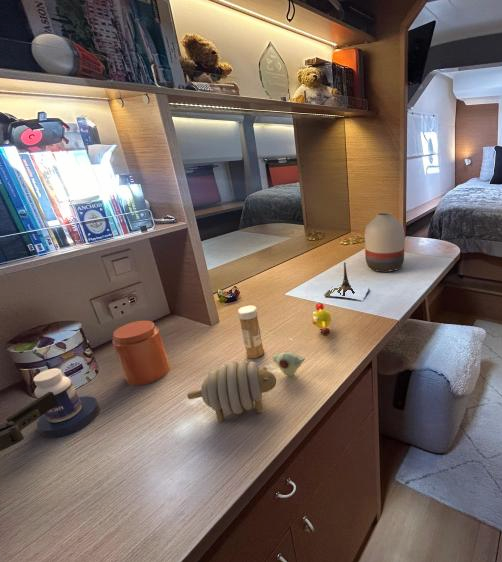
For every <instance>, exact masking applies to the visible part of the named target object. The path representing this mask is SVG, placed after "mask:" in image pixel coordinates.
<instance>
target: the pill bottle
mask: <svg viewBox="0 0 502 562" xmlns="http://www.w3.org/2000/svg"><path fill="white" fill-rule="evenodd" d="M32 380H33V383H34V385H35V389H34V393H33V394H34V395H35V398H36V400H37V399H38V398H40V397H42V396H43V395H45V394H46V393H48V392H53V394H54V396H55V398H56V400H57V402H58V405H56V406H55V407H53V408H52V409H50V410H49V411H48V412H46V413H45V416H46V418H47V419H48V421H49V422H52V423H56V422H62V421H65V420H67V419H69V418H71V417H73V416H75V415H76V414H77V413H78V412H79V411H80V410H81V408H82V405H81V402H80V400H79V398H78V397H79V395H78V393H77V391H76V389H75V387H74V384H73V382H72V380H71V379H70V377H67V376H64V373H63V371H62V370H61V369H60V368H50V369H46V370H43V371H41V372H39V373H38V374H36V375H35V376H34V377H33V379H32Z"/></svg>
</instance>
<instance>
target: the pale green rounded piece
mask: <svg viewBox="0 0 502 562" xmlns="http://www.w3.org/2000/svg"><path fill="white" fill-rule="evenodd" d="M272 358H273V359H272V361H273V362H274V363H275V364H276V365H277V366H278V368H279V370H280V372H282V373H283V374H284V375H285V376H294V375H295V374H296V372H297V370H298V369H299V368H300V367H301V366H302V364H303V363H304V362H305V360H306V357H304V356H300V355H298V354H296V353H294V352H291V351H283V352H280V353H276V354H275V353H274V354H273V356H272Z"/></svg>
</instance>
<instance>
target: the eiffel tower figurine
mask: <svg viewBox="0 0 502 562" xmlns="http://www.w3.org/2000/svg"><path fill="white" fill-rule="evenodd" d="M343 261H344V262H343V279H342V284H340V286H341V287H339V288H334V290H333V289H332V290H333V292H334V291H335V290H338V289H339V290H338V291H337V292H338V293H340V291H341V290H342V289H343V295H342V296H345V292H346V291H347V290H351V291H352V293H353V294H354V293H355V292H354V291H353V289H352V288H351V287H352V285H351V284H350V282H349V279H348V274H347V265H346V264H347V263H346V261H345V259H343ZM332 290H331V291H330V290H329V289H328V290H327V291H326V292H325V293H324V294H323V296H325V297H329V296H330V294H331V293H333V292H332ZM340 295H341V293H340Z"/></svg>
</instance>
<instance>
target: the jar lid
mask: <svg viewBox="0 0 502 562" xmlns="http://www.w3.org/2000/svg"><path fill="white" fill-rule="evenodd" d="M78 398H79V400H80V402H81V405H82V408H81V410H80V411H79V412H78V413H77V414H76V415H75V416H73V417H71V418H69V419H67V420H65V421H62V422H56V423H52V422H49V421H48V419H47V418H46V416H45V414H43V415H42V416H40V417H39V418H38V419H37V422H36V427H37V429H38V431H39V433H40V435H41V436H42V437H44V438H46V439H55V438H61V437H65V436H68V435H71V434H73V433H75V432H77V431H80V430H81V429H83V428H85V427H86V426H88V425H89V424H90V423H92V421H94V420H95V419H96V418H97V416H98V415H99V414H100V411H101V406H100V404H99V401H98V399H97V398H96V397H94V396H90V395H83V396H78Z"/></svg>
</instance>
